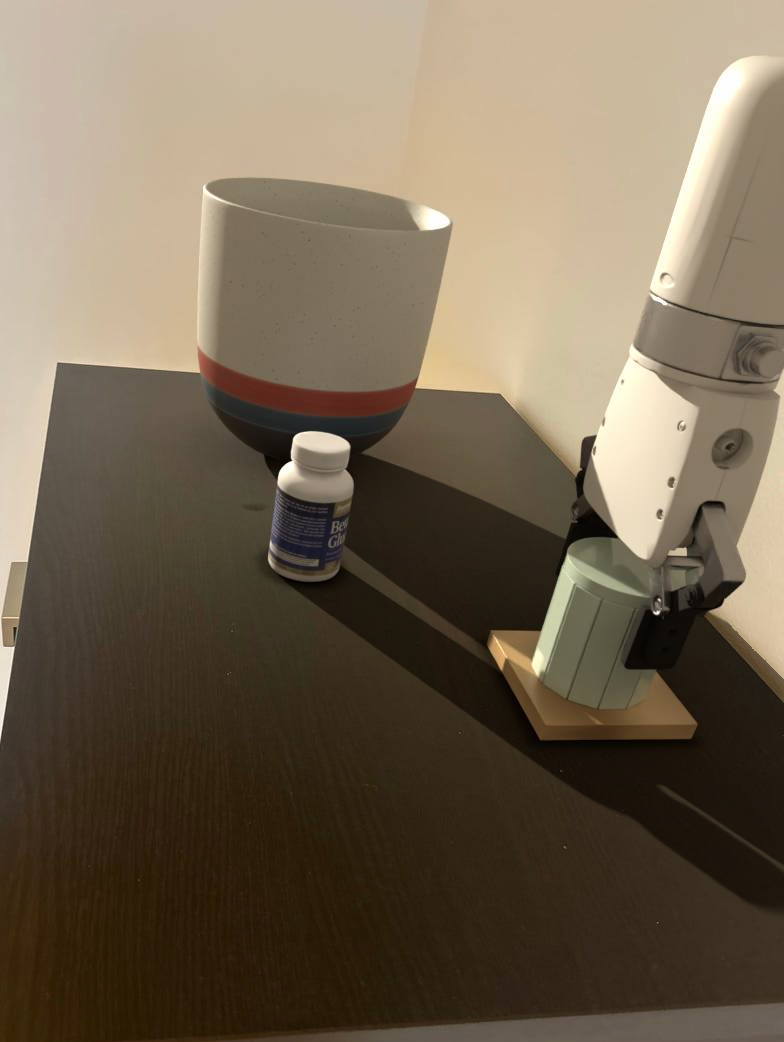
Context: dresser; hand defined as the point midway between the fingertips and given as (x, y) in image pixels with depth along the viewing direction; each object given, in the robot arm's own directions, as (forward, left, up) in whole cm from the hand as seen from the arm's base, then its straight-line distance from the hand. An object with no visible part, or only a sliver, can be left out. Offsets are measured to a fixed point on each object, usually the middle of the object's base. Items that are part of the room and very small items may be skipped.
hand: (609, 620), depth 57 cm
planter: (+13, -37, -6) cm, 40 cm away
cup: (0, 0, -4) cm, 4 cm away
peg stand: (0, 0, -5) cm, 5 cm away
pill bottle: (+16, -15, -6) cm, 23 cm away
